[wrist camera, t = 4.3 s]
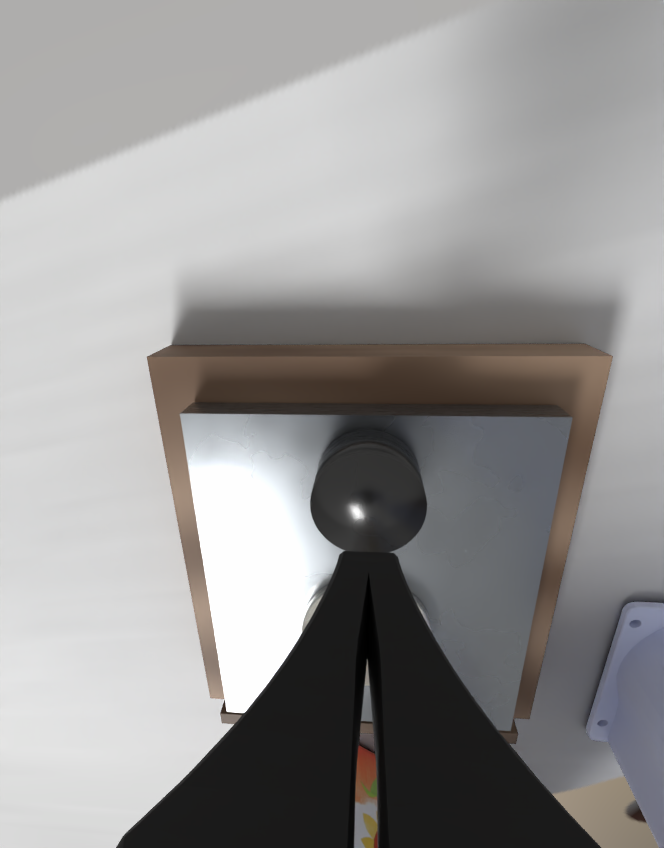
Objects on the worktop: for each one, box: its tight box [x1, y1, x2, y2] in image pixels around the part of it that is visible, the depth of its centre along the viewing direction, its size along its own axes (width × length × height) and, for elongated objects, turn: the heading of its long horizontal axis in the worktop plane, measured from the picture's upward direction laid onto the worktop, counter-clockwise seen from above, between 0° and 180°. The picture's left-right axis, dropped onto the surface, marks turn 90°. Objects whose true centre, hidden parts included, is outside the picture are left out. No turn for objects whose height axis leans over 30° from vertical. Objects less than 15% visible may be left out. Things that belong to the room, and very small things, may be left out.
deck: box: [180, 402, 573, 731], centre depth 17 cm, size 15×13×3 cm
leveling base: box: [147, 344, 613, 744], centre depth 19 cm, size 18×16×3 cm
